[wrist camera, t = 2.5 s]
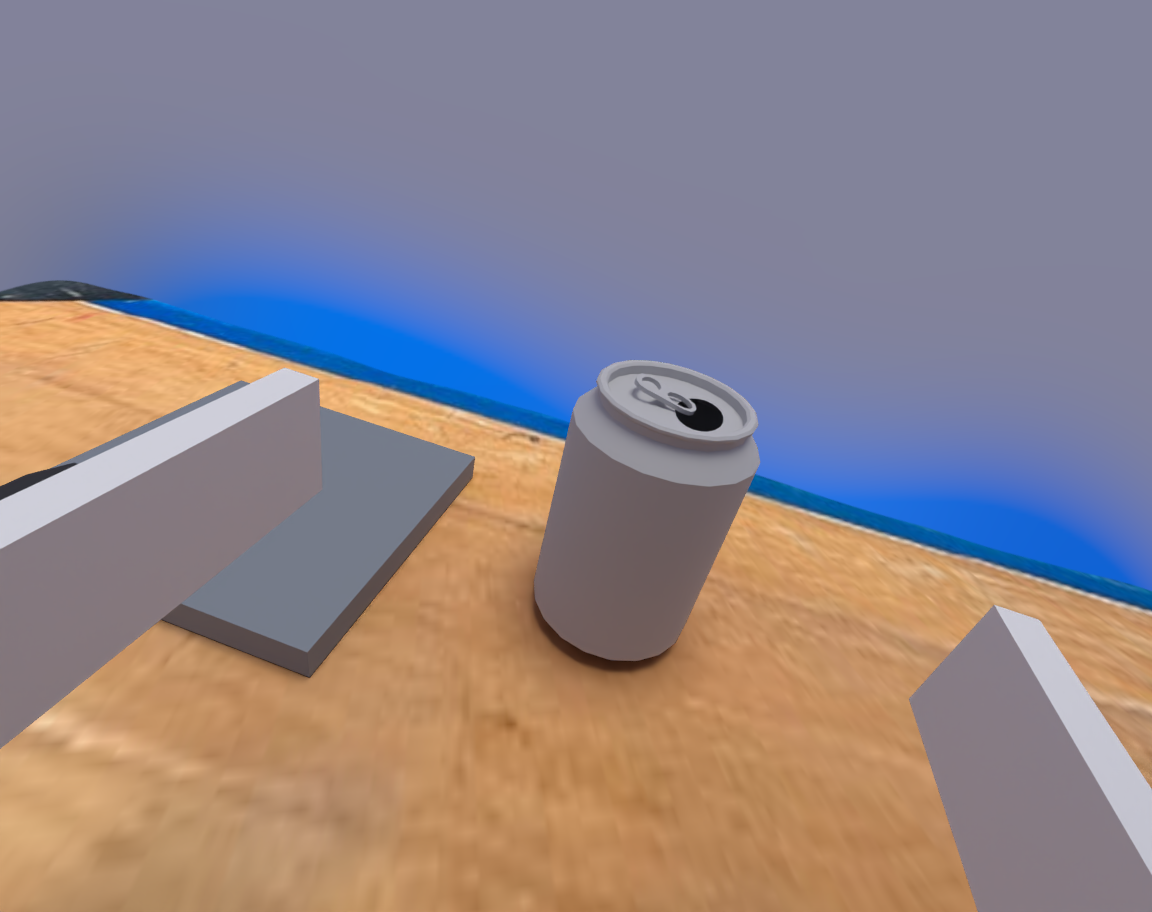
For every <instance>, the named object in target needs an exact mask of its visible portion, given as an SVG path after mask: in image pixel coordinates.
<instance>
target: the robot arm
mask: <svg viewBox="0 0 1152 912" xmlns="http://www.w3.org/2000/svg"><path fill="white" fill-rule="evenodd" d="M321 490H322V462H321V429H320V397H319V379H317V378H314V377H311V376H308V375H305V374H302V373H299V372H296V371H293V370H290V369H287V368H283V369H281V370H279V371H277V372H274V373H272V374H270V375H268V376H266V377H264V378H262V379H259V380H257V381H255V382H253V383H251V384H249V385H247V386H244V387H242V388H240V389H238V390H236V391H234V392H232V393H229V394H227V395H225V396H223V397H221V398H219V399H217V400H214V401H212V402H210V403H208V404H206V405H204V406H202V407H199V408H197V409H195V410H193V411H191V412H189V413H187V414H184V415H182V416H180V417H178V418H176V419H174V420H172V421H169V422H167V423H165V424H163V425H161V426H159V427H157V428H154V429H152V430H150V431H148V432H146V433H144V434H142V435H139V436H137V437H135V438H133V439H131V440H129V441H127V442H124V443H122V444H120V445H118V446H116V447H114V448H112V449H109V450H107V451H105V452H103V453H101V454H99V455H97V456H94V457H92V458H90V459H88V460H86V461H84V462H82V463H79V464H77V463H70V464H66V465H63V466H59V467H55V468H51V469H47V470H43V471H39V472H35V473H31V474H27V475H25V476H22V477H20V478H18V479H16V480H14V481H11V482H9V483H7V484H5V485H2V486H0V749H1V748H2V747H3V746H4V745H6V744H7V743H8V742H9V741H11V740H12V739H13V738H14V737H15V736H17V735H18V734H19V733H20V732H22V731H23V730H24V729H25V728H27V727H28V726H29V725H30V724H32V723H33V722H34V721H35V720H37V719H38V718H39V717H40V716H42V715H43V714H44V713H45V712H47V711H48V710H49V709H50V708H51V707H53V706H54V705H55V704H56V703H58V702H59V701H60V700H61V699H63V698H64V697H65V696H66V695H68V694H69V693H70V692H71V691H73V690H74V689H75V688H76V687H78V686H79V685H80V684H81V683H83V682H84V681H85V680H86V679H87V678H89V677H90V676H91V675H92V674H94V673H95V672H96V671H97V670H99V669H100V668H101V667H102V666H104V665H105V664H106V663H107V662H109V661H110V660H111V659H112V658H114V657H115V656H116V655H117V654H119V653H120V652H121V651H122V650H123V649H125V648H126V647H127V646H128V645H130V644H131V643H132V642H133V641H135V640H136V639H137V638H138V637H140V636H141V635H142V634H143V633H145V632H146V631H147V630H148V629H150V628H151V627H152V626H153V625H155V624H156V623H157V622H158V621H159V620H161V619H162V618H163V617H164V616H166V615H167V614H168V613H169V612H171V611H172V610H173V609H174V608H176V607H177V606H178V605H179V604H181V603H182V602H183V601H184V600H186V599H187V598H188V597H189V596H191V595H192V594H193V593H194V592H195V591H197V590H198V589H199V588H200V587H202V586H203V585H204V584H205V583H207V582H208V581H209V580H210V579H212V578H213V577H214V576H215V575H217V574H218V573H219V572H220V571H222V570H223V569H224V568H225V567H227V566H228V565H229V564H230V563H231V562H233V561H234V560H235V559H236V558H238V557H239V556H240V555H241V554H243V553H244V552H245V551H246V550H248V549H249V548H250V547H251V546H253V545H254V544H255V543H256V542H258V541H259V540H260V539H261V538H263V537H264V536H265V535H266V534H267V533H269V532H270V531H271V530H272V529H274V528H275V527H276V526H277V525H279V524H280V523H281V522H282V521H284V520H285V519H286V518H287V517H289V516H290V515H291V514H292V513H294V512H295V511H296V510H297V509H299V508H300V507H301V506H302V505H303V504H305V503H306V502H307V501H308V500H310V499H311V498H312V497H313V496H315V495H316V494H317V493H318V492H320V491H321ZM909 701H910V704H911V707H912V710H913V713H914V716H915V719H916V722H917V725H918V728H919V732H920V735H921V738H922V741H923V744H924V747H925V750H926V753H927V756H928V759H929V762H930V765H931V768H932V772H933V775H934V778H935V781H936V784H937V787H938V790H939V793H940V796H941V799H942V802H943V805H944V809H945V812H946V815H947V818H948V821H949V824H950V827H951V830H952V833H953V836H954V839H955V842H956V845H957V849H958V852H959V855H960V858H961V861H962V864H963V867H964V870H965V873H966V876H967V879H968V882H969V886H970V889H971V892H972V895H973V898H974V901H975V904H976V907H977V910H978V912H1152V789H1151V787H1150V786H1149V784H1148V783H1147V781H1146V780H1145V778H1144V777H1143V775H1142V774H1141V772H1140V771H1139V769H1138V768H1137V766H1136V765H1135V763H1134V762H1133V760H1132V759H1131V757H1130V756H1129V754H1128V753H1127V751H1126V750H1125V748H1124V747H1123V745H1122V744H1121V742H1120V741H1119V739H1118V738H1117V736H1116V735H1115V733H1114V732H1113V730H1112V729H1111V727H1110V726H1109V724H1108V723H1107V721H1106V720H1105V718H1104V717H1103V715H1102V714H1101V712H1100V711H1099V709H1098V708H1097V706H1096V704H1095V703H1094V701H1093V700H1092V698H1091V697H1090V695H1089V694H1088V692H1087V691H1086V689H1085V688H1084V686H1083V685H1082V683H1081V682H1080V680H1079V679H1078V677H1077V676H1076V674H1075V673H1074V671H1073V670H1072V668H1071V667H1070V665H1069V664H1068V662H1067V661H1066V659H1065V658H1064V656H1063V655H1062V653H1061V652H1060V650H1059V649H1058V647H1057V646H1056V644H1055V643H1054V641H1053V640H1052V638H1051V637H1050V635H1049V634H1048V632H1047V631H1046V629H1045V628H1044V626H1043V625H1042V623H1041V622H1040V620H1038V619H1035V618H1032V617H1029V616H1026V615H1023V614H1020V613H1017V612H1014V611H1011V610H1008V609H1005V608H1002V607H999V606H996V605H994V606H993V607H992V608H991V609H990V610H989V611H988V612H987V613H986V614H985V616H984V617H983V618H982V619H981V620H980V621H979V622H978V623H977V624H976V626H975V627H974V628H973V629H972V630H971V631H970V632H969V633H968V634H967V635H966V637H965V638H964V639H963V640H962V641H961V642H960V643H959V644H958V645H957V646H956V648H955V649H954V650H953V651H952V652H951V653H950V654H949V655H948V656H947V657H946V659H945V660H944V661H943V662H942V663H941V664H940V665H939V666H938V667H937V668H936V670H935V671H934V672H933V673H932V674H931V675H930V676H929V677H928V678H927V680H926V681H925V682H924V683H923V684H922V685H921V686H920V687H919V688H918V689H917V691H916V692H915V693H914V694H913V695H912V696H911V697H910V698H909Z"/></svg>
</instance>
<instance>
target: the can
mask: <svg viewBox="0 0 1152 912" xmlns="http://www.w3.org/2000/svg"><path fill="white" fill-rule="evenodd" d="M596 382H597V385H598V386H597V387H595V388H594V389H592V390H590V391H589V392H587V393H585V394H584V395H582V396H581V397H579V398H578V400H577V402H576V405H575V407H574V409H573V412H572V416H571V421H570V425H569V429H568V434H567V438H566V442H565V447H564V451H563V456H562V460H561V464H560V469H559V473H558V477H557V482H556V486H555V490H554V495H553V499H552V504H551V508H550V512H549V517H548V521H547V525H546V530H545V534H544V539H543V543H542V547H541V552H540V556H539V560H538V565H537V569H536V573H535V578H534V591H535V600H536V603H537V605H538V607H539V609H540V611H541V614H542V616H543V618H544V619H545V621H546V622H547V623H548V624H549V625H550V626H551V627H552V628H553V629H554V630H555V631H556V633H557V634H558V635H559V636H560V637H561V638H563V639H564V640H566V641H568V642H569V643H571V644H572V645H574V646H576V647H577V648H579V649H580V650H582V651H584V652H586V653H590V654H593V655H596V656H599V657H602V658H605V659H609V660H621V661H639V660H643V659H646V658H650V657H654V656H657V655H660V654H661V653H662V652H664V651H665V650H666V649H668V648H669V647H670V646H672V645H673V644H674V643H676V641H677V639H678V637H679V635H680V633H681V631H682V629H683V627H684V625H685V623H686V621H687V619H688V617H689V615H690V613H691V610H692V608H693V606H694V604H695V602H696V600H697V597H698V595H699V593H700V591H701V589H702V587H703V585H704V582H705V580H706V578H707V576H708V574H709V572H710V569H711V567H712V565H713V563H714V561H715V559H716V557H717V554H718V552H719V550H720V548H721V546H722V544H723V541H724V539H725V537H726V535H727V533H728V531H729V529H730V526H731V524H732V522H733V520H734V518H735V516H736V514H737V511H738V509H739V507H740V505H741V503H742V501H743V498H744V496H745V494H746V492H747V490H748V488H749V486H750V483H751V481H752V479H753V477H754V475H755V473H756V470H757V468H758V466H759V464H760V459H759V453H758V448H757V445H756V443H755V441H754V439H753V437H752V434H753V433H754V431H755V430H756V428H757V426H758V420H757V415H756V412H755V410H754V409H753V408H752V407H751V405H750V404H749V403H748V402H747V400H746V399H745V398H743V397H742V396H741V395H740V394H738V393H737V392H736V391H734V390H733V389H732V388H730V387H728V386H726V385H725V384H723V383H721V382H719V381H717V380H715V379H714V378H711V377H709V376H706V375H704V374H701V373H699V372H696V371H694V370H691V369H687V368H684V367H680V366H676V365H673V364H668V363H662V362H655V361H646V360H643V361H642V360H628V361H623V362H617V363H613V364H611V365H610V366H608V367H606V368H604V369H603V370H601V372H600V374H599V376H598V378H597V381H596Z"/></svg>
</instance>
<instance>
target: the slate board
mask: <svg viewBox="0 0 1152 912" xmlns="http://www.w3.org/2000/svg"><path fill="white" fill-rule="evenodd" d="M249 384H250V383H247V382H244V381H239V382H237V383H235V384H232V385H230V386H228V387H226V388H224V389H222V390H219V391H217V392H215V393H213V394H211V395H209V396H206V397H204V398H202V399H200V400H198V401H196V402H193V403H191V404H189V405H187V406H185V407H183V408H180V409H178V410H176V411H174V412H172V413H170V414H167V415H165V416H163V417H161V418H159V419H156V420H154V421H152V422H150V423H148V424H146V425H143V426H141V427H139V428H137V429H135V430H133V431H130V432H128V433H126V434H124V435H122V436H120V437H117V438H115V439H113V440H111V441H109V442H107V443H104V444H102V445H100V446H98V447H96V448H94V449H91V450H89V451H87V452H85V453H83V454H81V455H78V456H76V457H74V458H72V459H70V460H68V461H65V462H63V463H61V464H59V465H57V466H55V467H59V466H63V465H66V464H70V463H77V464H79V463H82V462H84V461H86V460H88V459H90V458H92V457H94V456H97V455H99V454H101V453H103V452H105V451H107V450H109V449H112V448H114V447H116V446H118V445H120V444H122V443H124V442H127V441H129V440H131V439H133V438H135V437H137V436H139V435H142V434H144V433H146V432H148V431H150V430H152V429H154V428H157V427H159V426H161V425H163V424H165V423H167V422H169V421H172V420H174V419H176V418H178V417H180V416H182V415H184V414H187V413H189V412H191V411H193V410H195V409H197V408H199V407H202V406H204V405H206V404H208V403H210V402H212V401H214V400H217V399H219V398H221V397H223V396H225V395H227V394H229V393H232V392H234V391H236V390H238V389H240V388H242V387H244V386H247V385H249ZM320 429H321V462H322V490H321V491H320V492H318V493H317V494H316V495H315V496H313V497H312V498H311V499H310V500H308V501H307V502H306V503H305V504H303V505H302V506H301V507H300V508H299V509H297V510H296V511H295V512H294V513H292V514H291V515H290V516H289V517H287V518H286V519H285V520H284V521H282V522H281V523H280V524H279V525H277V526H276V527H275V528H274V529H272V530H271V531H270V532H269V533H267V534H266V535H265V536H264V537H263V538H261V539H260V540H259V541H258V542H256V543H255V544H254V545H253V546H251V547H250V548H249V549H248V550H246V551H245V552H244V553H243V554H241V555H240V556H239V557H238V558H236V559H235V560H234V561H233V562H231V563H230V564H229V565H228V566H227V567H225V568H224V569H223V570H222V571H220V572H219V573H218V574H217V575H215V576H214V577H213V578H212V579H210V580H209V581H208V582H207V583H205V584H204V585H203V586H202V587H200V588H199V589H198V590H197V591H195V592H194V593H193V594H192V595H191V596H189V597H188V598H187V599H186V600H184V601H183V602H182V603H181V604H179V605H178V606H177V607H176V608H174V609H173V610H172V611H171V612H169V613H168V614H167V615H166V616H164V617H163V618H162V619H161V620H164V621H166V622H169V623H172V624H174V625H177V626H179V627H182V628H184V629H187V630H189V631H192V632H195V633H197V634H200V635H202V636H205V637H207V638H210V639H213V640H215V641H218V642H220V643H223V644H225V645H228V646H230V647H233V648H236V649H238V650H241V651H243V652H246V653H248V654H251V655H253V656H256V657H259V658H261V659H264V660H266V661H269V662H271V663H274V664H277V665H279V666H282V667H284V668H287V669H289V670H292V671H294V672H297V673H300V674H302V675H305V676H307V677H310V676H311V675H312V674H313V673H314V672H315V670H316V669H317V668H318V667H319V665H320V664H321V663H322V662H323V660H324V659H325V658H326V657H327V656H328V654H329V653H330V652H331V651H332V649H333V648H334V647H335V646H336V644H337V643H338V642H339V641H340V640H341V638H342V637H343V636H344V635H345V633H346V632H347V631H348V630H349V628H350V627H351V626H352V625H353V624H354V622H355V621H356V620H357V619H358V617H359V616H360V615H361V614H362V613H363V611H364V610H365V609H366V608H367V606H368V605H369V604H370V603H371V601H372V600H373V599H374V598H375V597H376V595H377V594H378V593H379V592H380V590H381V589H382V588H383V587H384V585H385V584H386V583H387V582H388V581H389V579H390V578H391V577H392V576H393V574H394V573H395V572H396V571H397V569H398V568H399V567H400V566H401V565H402V563H403V562H404V561H405V560H406V558H407V557H408V556H409V555H410V553H411V552H412V551H413V550H414V549H415V547H416V546H417V545H418V544H419V542H420V541H421V540H422V539H423V537H424V536H425V535H426V534H427V533H428V531H429V530H430V529H431V528H432V526H433V525H434V524H435V523H436V522H437V520H438V519H439V518H440V517H441V515H442V514H443V513H444V512H445V510H446V509H447V508H448V507H449V506H450V504H451V503H452V502H453V501H454V499H455V498H456V497H457V496H458V494H459V493H460V492H461V491H462V490H463V488H464V487H465V486H466V485H467V483H468V482H469V481H470V480H471V478H472V477H473V469H474V461H475V457H473V456H470V455H467V454H464V453H461V452H458V451H455V450H452V449H449V448H446V447H443V446H440V445H437V444H434V443H430V442H427V441H424V440H421V439H418V438H415V437H412V436H409V435H406V434H403V433H400V432H397V431H394V430H391V429H388V428H385V427H382V426H378V425H375V424H372V423H369V422H366V421H363V420H360V419H357V418H354V417H351V416H348V415H345V414H342V413H339V412H336V411H333V410H330V409H327V408H323V407H320ZM55 467H52V468H55ZM50 469H51V468H50Z"/></svg>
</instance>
